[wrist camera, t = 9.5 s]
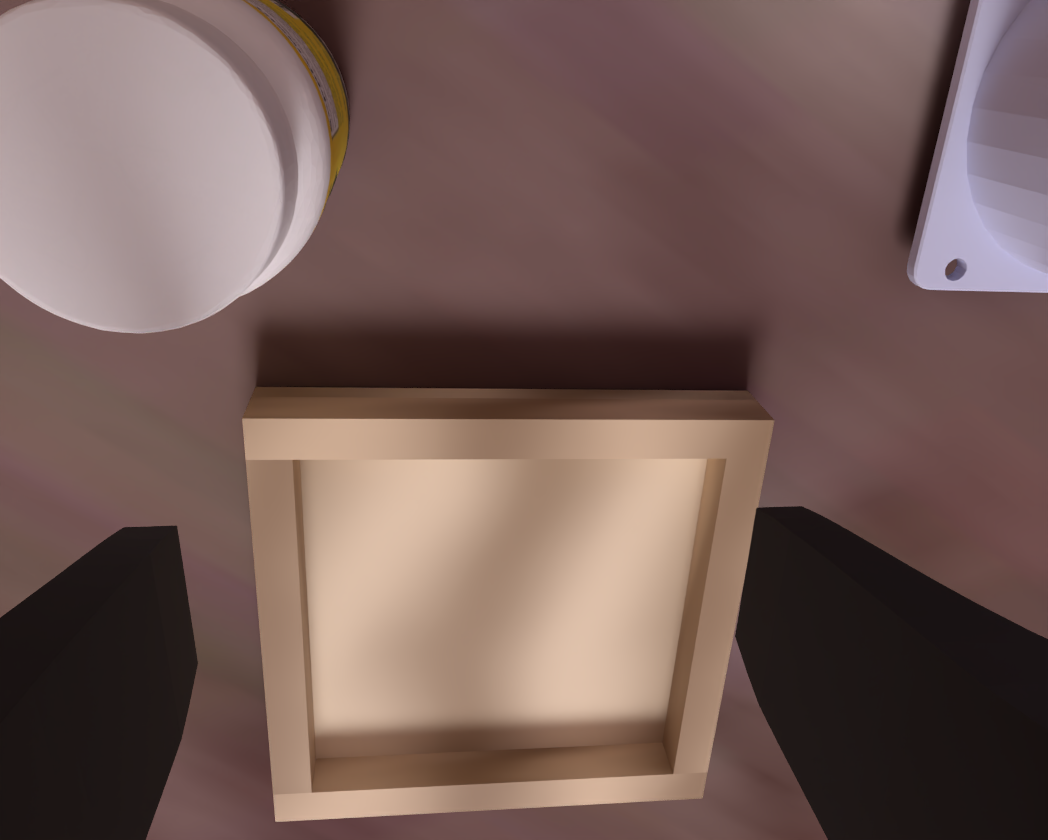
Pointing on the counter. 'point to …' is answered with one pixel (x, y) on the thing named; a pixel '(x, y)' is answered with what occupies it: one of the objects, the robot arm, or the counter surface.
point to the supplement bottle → (161, 154)
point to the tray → (496, 591)
